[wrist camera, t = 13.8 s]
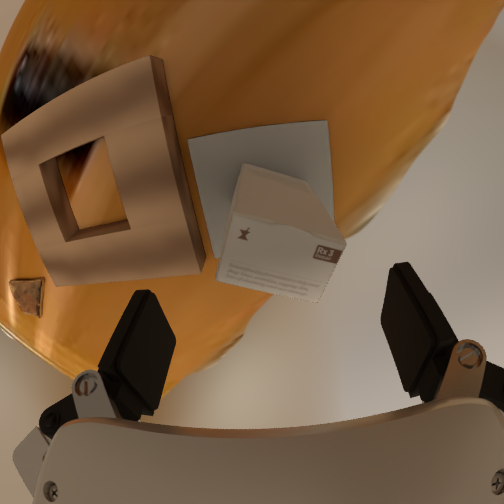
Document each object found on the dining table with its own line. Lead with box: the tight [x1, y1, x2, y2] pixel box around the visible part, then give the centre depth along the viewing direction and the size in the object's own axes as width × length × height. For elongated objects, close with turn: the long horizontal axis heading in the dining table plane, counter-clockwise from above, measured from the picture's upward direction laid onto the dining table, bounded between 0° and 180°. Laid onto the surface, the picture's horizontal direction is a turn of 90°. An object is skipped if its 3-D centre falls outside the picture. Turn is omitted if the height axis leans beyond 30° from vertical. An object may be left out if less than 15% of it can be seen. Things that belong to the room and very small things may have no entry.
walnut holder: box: [1, 55, 206, 287], centre depth 23 cm, size 20×20×3 cm
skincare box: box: [216, 163, 346, 303], centre depth 19 cm, size 6×4×12 cm
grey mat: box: [187, 120, 334, 258], centre depth 25 cm, size 12×12×1 cm
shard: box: [9, 277, 45, 318], centre depth 33 cm, size 11×8×2 cm
